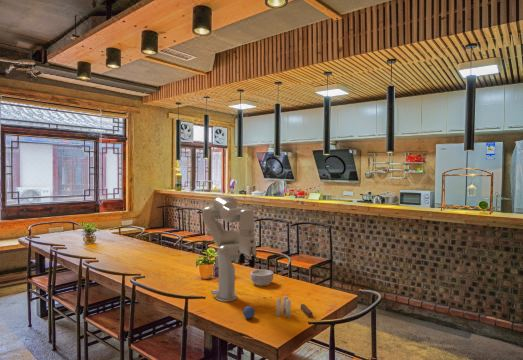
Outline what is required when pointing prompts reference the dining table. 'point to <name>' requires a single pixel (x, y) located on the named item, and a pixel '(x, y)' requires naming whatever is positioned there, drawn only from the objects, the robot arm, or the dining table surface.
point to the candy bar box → (216, 267)
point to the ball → (248, 312)
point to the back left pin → (284, 304)
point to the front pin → (278, 307)
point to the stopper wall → (306, 310)
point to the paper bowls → (261, 277)
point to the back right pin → (288, 308)
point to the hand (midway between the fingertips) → (246, 264)
